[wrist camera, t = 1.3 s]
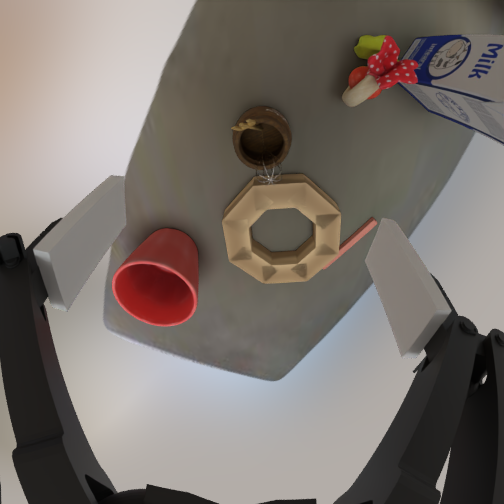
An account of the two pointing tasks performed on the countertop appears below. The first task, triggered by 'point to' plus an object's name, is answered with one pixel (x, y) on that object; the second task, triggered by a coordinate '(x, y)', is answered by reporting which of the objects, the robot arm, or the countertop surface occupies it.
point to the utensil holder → (262, 139)
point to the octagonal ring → (276, 197)
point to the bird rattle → (377, 69)
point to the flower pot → (160, 279)
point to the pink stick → (354, 238)
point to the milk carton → (461, 80)
